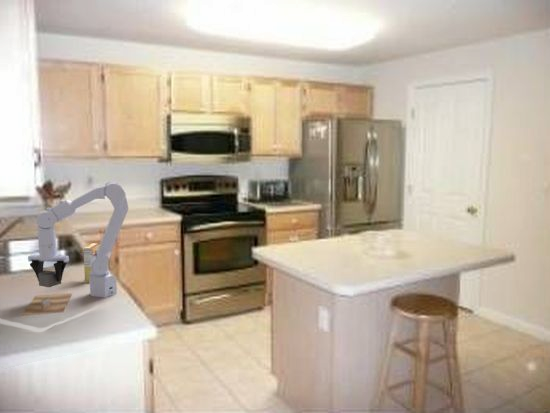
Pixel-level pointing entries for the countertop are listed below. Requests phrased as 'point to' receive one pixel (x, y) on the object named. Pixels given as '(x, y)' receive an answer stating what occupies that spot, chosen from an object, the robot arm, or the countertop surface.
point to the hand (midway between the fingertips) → (50, 280)
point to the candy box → (88, 253)
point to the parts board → (56, 304)
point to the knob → (48, 278)
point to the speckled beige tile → (45, 303)
